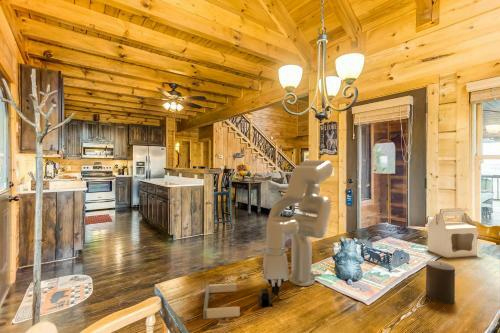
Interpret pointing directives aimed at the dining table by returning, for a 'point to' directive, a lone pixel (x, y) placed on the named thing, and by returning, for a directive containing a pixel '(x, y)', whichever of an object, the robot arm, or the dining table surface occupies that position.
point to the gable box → (461, 233)
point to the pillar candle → (440, 281)
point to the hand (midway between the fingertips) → (275, 294)
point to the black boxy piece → (265, 299)
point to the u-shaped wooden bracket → (224, 310)
